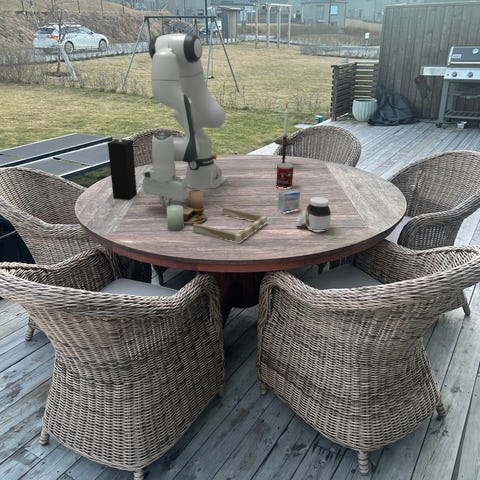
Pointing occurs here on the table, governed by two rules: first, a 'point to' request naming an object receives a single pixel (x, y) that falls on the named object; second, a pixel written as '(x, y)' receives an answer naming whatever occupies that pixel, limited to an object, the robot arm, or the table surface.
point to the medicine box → (288, 200)
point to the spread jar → (316, 214)
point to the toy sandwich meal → (193, 215)
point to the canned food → (284, 175)
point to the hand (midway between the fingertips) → (166, 207)
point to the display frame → (229, 235)
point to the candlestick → (285, 137)
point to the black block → (122, 168)
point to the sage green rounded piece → (175, 217)
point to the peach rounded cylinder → (195, 199)
